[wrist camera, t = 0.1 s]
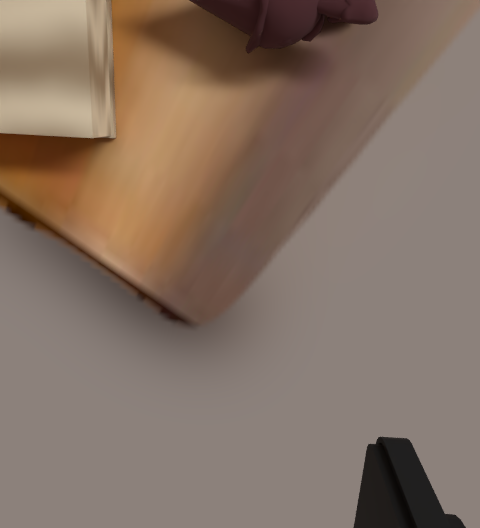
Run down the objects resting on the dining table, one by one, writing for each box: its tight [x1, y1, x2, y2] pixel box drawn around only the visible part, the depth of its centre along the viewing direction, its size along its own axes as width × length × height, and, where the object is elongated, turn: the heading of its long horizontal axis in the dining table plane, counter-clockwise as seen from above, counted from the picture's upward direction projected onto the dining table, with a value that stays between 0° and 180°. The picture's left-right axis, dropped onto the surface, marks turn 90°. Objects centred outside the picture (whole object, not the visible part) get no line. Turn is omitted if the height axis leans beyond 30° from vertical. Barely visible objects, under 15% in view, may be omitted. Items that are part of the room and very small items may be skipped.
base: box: [0, 0, 116, 138], centre depth 33 cm, size 10×10×5 cm
